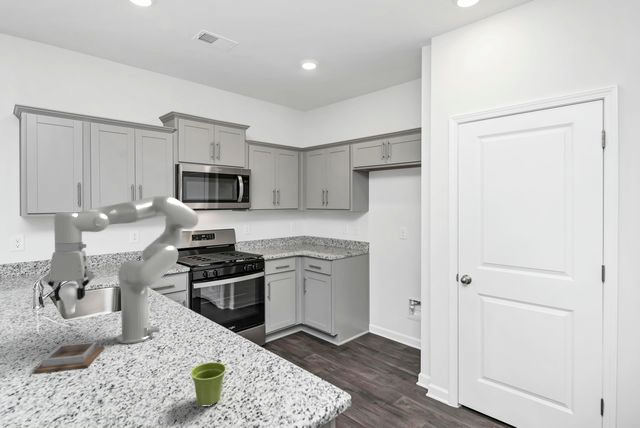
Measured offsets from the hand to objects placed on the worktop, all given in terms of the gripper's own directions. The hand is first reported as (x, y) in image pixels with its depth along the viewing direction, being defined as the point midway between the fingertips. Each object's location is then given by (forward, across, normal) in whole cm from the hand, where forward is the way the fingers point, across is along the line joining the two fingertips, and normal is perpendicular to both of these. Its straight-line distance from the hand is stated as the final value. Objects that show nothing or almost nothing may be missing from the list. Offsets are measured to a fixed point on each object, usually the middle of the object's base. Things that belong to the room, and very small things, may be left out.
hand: (70, 298), depth 117 cm
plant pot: (+22, -49, +36) cm, 65 cm away
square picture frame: (+21, 0, 0) cm, 21 cm away
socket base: (+21, 0, 0) cm, 21 cm away
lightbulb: (+6, 0, 0) cm, 6 cm away
